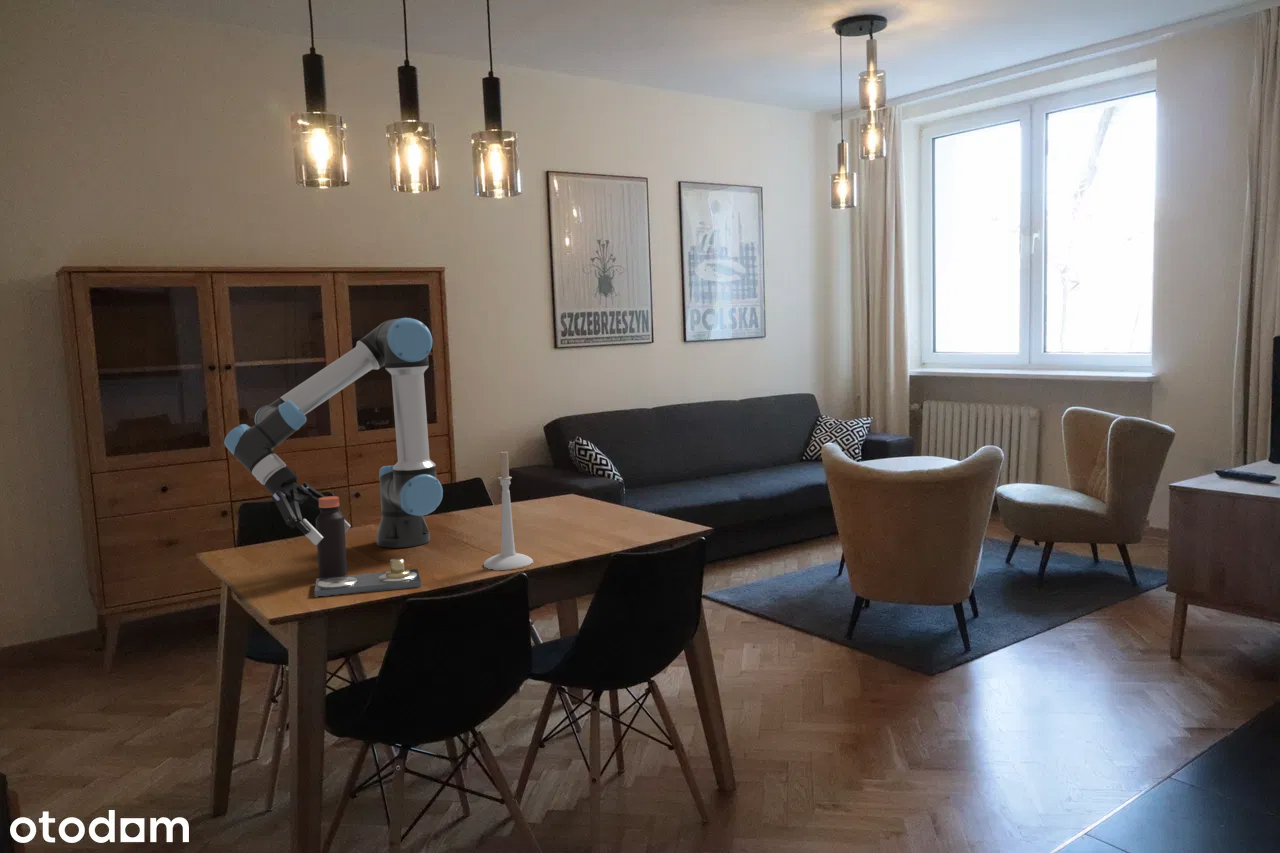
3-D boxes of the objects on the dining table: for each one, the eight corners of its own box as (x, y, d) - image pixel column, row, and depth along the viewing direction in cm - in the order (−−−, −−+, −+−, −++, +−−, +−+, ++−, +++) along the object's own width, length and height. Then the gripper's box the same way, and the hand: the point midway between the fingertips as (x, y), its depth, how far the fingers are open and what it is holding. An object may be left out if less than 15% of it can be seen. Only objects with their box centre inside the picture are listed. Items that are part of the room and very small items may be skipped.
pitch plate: (417, 574, 233) (416, 552, 233) (420, 586, 222) (419, 563, 221) (316, 584, 226) (315, 561, 226) (314, 597, 215) (313, 573, 214)
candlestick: (529, 570, 235) (525, 452, 232) (479, 571, 236) (474, 453, 233) (536, 557, 248) (532, 446, 245) (488, 558, 248) (483, 447, 245)
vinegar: (323, 573, 237) (319, 496, 235) (350, 572, 238) (346, 495, 236) (315, 580, 231) (310, 500, 229) (343, 579, 231) (338, 499, 229)
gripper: (293, 478, 247) (348, 535, 246) (236, 494, 223) (297, 557, 221) (310, 458, 245) (366, 515, 244) (255, 473, 221) (316, 536, 220)
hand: (333, 535), depth 233 cm, fingers open, 13 cm apart
